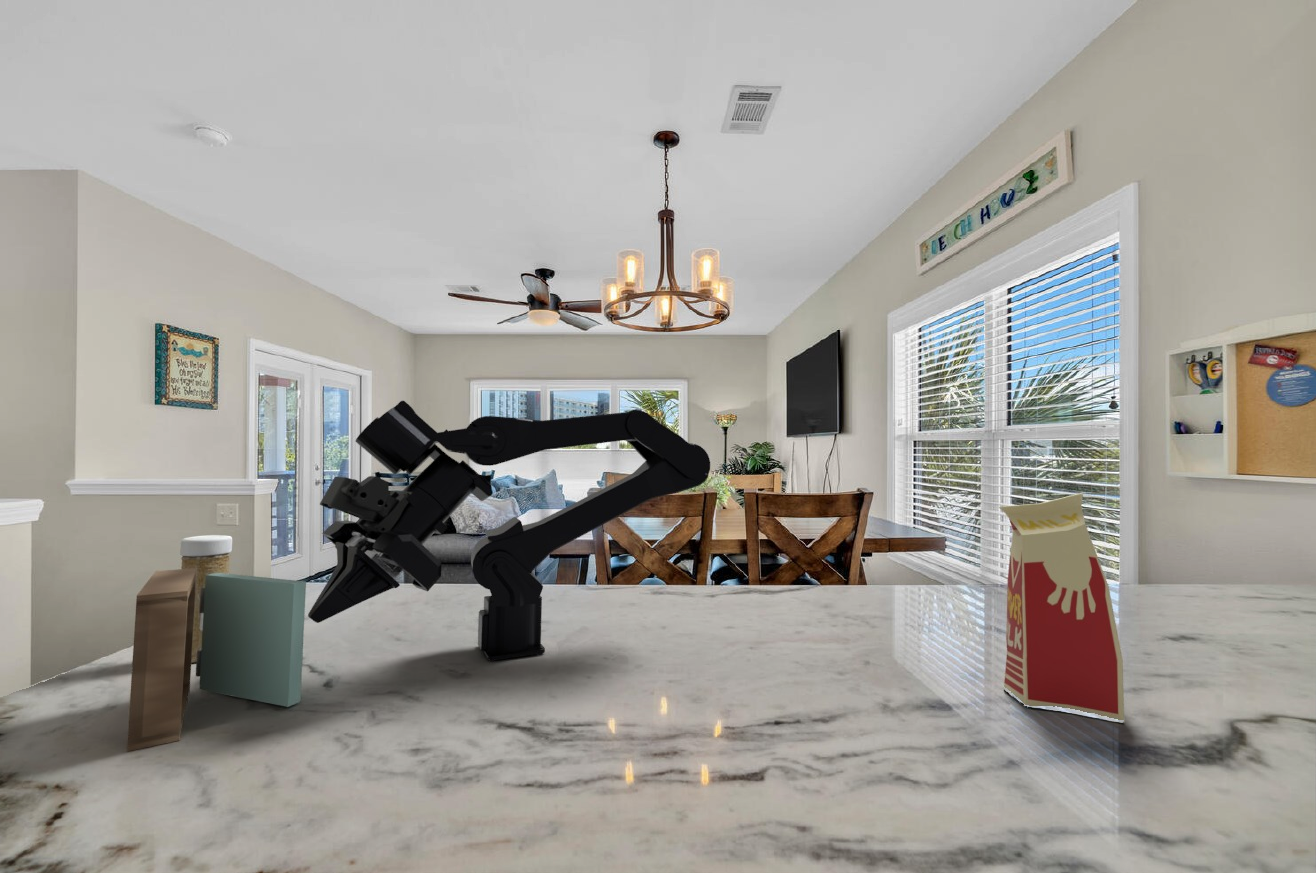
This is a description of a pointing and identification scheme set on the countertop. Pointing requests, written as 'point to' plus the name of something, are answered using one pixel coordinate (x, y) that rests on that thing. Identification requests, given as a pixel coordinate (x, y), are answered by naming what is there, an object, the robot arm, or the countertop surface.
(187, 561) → the sprinkles bottle
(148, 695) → the cabinet
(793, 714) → the countertop surface
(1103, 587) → the milk carton
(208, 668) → the door
